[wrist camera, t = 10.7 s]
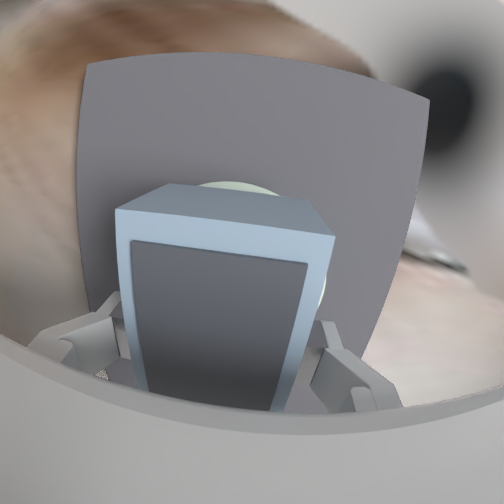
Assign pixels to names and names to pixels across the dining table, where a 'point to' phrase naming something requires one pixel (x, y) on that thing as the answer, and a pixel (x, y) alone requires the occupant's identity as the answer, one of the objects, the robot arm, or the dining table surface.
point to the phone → (220, 292)
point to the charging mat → (255, 165)
